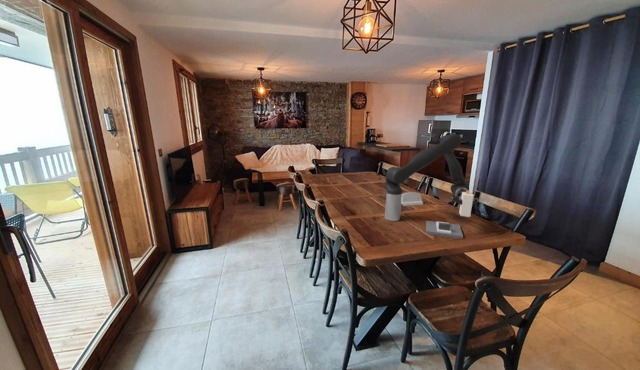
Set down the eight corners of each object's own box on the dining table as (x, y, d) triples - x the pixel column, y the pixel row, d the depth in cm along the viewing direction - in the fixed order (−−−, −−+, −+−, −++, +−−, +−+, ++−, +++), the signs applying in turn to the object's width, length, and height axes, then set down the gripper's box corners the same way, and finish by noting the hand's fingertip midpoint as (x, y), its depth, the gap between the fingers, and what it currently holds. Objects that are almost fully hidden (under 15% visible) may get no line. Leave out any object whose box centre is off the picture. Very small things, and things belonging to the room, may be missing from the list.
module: (460, 215, 136) (463, 191, 133) (459, 212, 141) (462, 189, 138) (470, 217, 134) (473, 192, 131) (468, 213, 140) (472, 190, 136)
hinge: (402, 206, 184) (401, 192, 184) (399, 206, 188) (398, 192, 189) (423, 204, 186) (422, 191, 187) (420, 204, 191) (418, 191, 192)
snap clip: (438, 228, 139) (439, 223, 138) (438, 227, 141) (438, 222, 140) (449, 230, 137) (450, 225, 136) (449, 228, 139) (450, 223, 138)
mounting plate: (426, 233, 139) (426, 229, 138) (426, 222, 153) (426, 219, 153) (462, 238, 132) (463, 235, 132) (459, 227, 147) (459, 223, 146)
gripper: (450, 187, 150) (453, 195, 135) (477, 190, 145) (483, 198, 130) (448, 199, 152) (451, 208, 137) (475, 202, 147) (481, 212, 132)
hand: (467, 203), depth 134 cm, fingers closed on module, 4 cm apart
